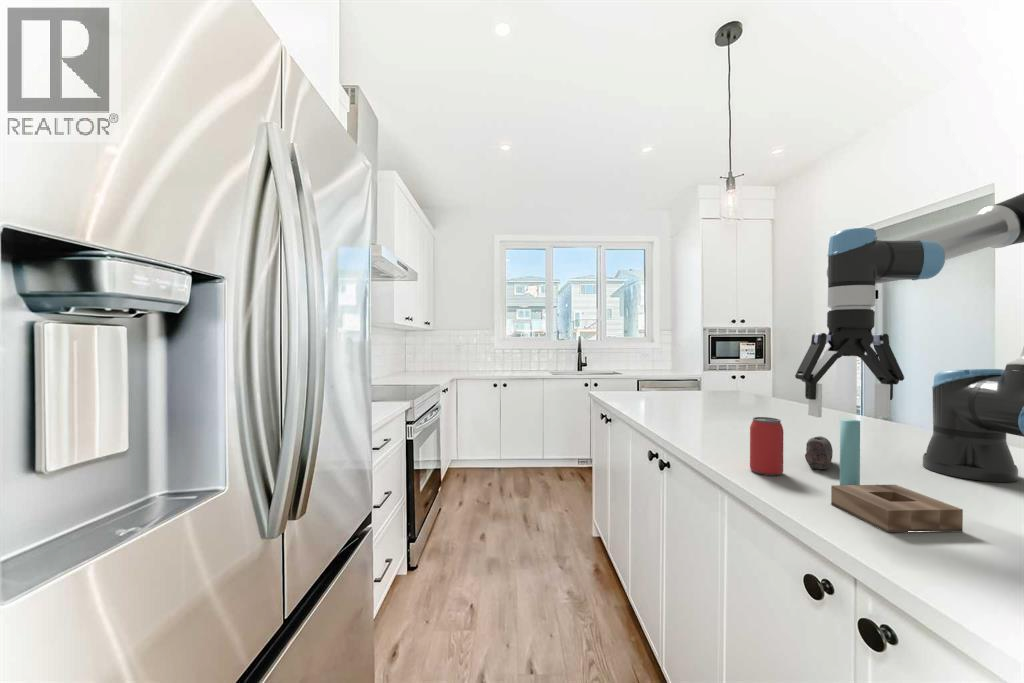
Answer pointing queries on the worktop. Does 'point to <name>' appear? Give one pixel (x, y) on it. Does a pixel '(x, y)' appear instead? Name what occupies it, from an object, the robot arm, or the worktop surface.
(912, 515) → the board
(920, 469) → the worktop surface
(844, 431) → the pin
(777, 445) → the beer can
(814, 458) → the perforated stone tool
